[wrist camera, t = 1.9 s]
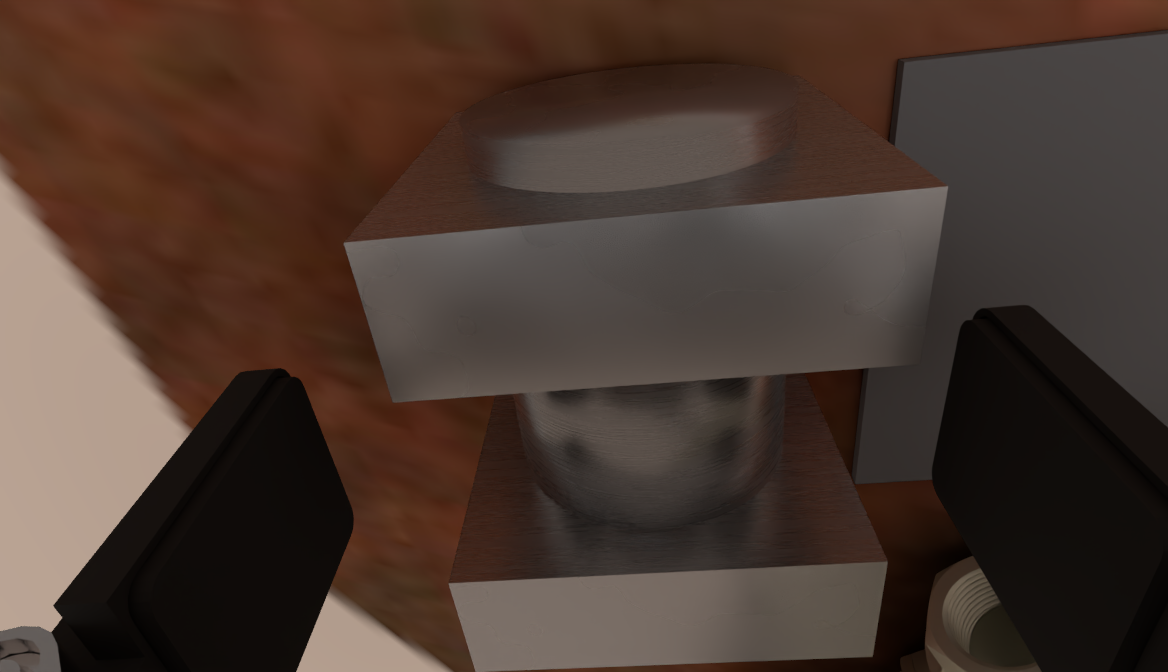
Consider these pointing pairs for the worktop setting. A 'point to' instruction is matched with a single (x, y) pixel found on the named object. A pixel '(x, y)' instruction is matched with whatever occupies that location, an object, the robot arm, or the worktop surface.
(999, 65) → the joint mat
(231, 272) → the worktop surface
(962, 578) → the ball valve
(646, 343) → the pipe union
